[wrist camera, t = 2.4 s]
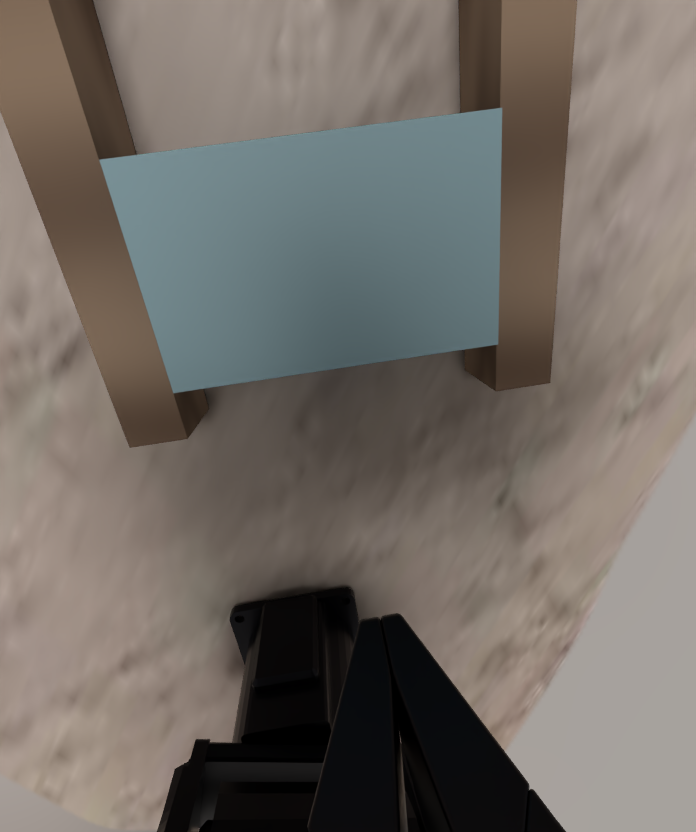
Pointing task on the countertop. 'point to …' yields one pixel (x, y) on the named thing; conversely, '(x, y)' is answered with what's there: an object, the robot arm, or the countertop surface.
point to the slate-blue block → (316, 247)
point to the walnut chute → (110, 137)
